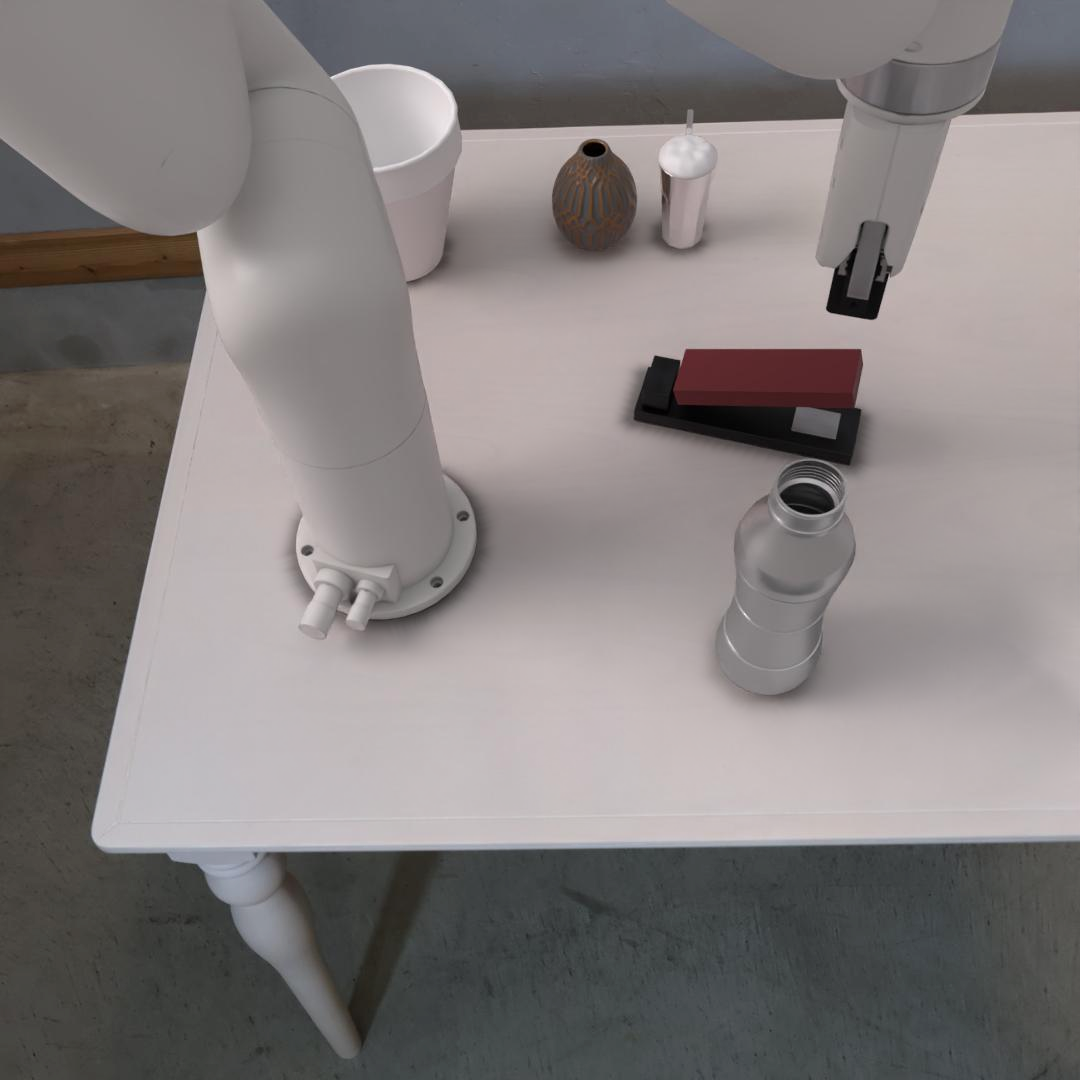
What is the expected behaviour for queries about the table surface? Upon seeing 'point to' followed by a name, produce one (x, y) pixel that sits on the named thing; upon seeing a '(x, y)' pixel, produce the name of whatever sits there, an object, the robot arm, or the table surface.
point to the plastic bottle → (786, 578)
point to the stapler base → (749, 419)
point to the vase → (594, 197)
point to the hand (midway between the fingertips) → (852, 307)
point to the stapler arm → (770, 377)
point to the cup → (408, 153)
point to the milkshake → (685, 186)
